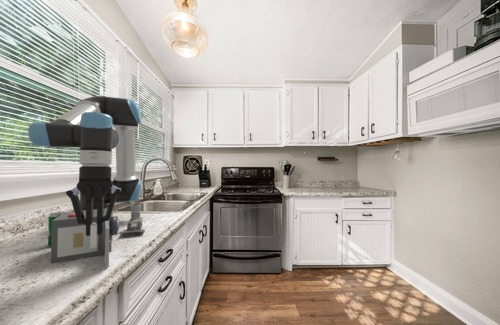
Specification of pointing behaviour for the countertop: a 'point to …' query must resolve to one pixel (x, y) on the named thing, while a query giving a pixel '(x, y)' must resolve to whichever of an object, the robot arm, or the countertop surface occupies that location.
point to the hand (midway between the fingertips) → (94, 245)
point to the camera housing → (76, 237)
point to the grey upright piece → (134, 220)
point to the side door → (106, 242)
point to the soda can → (50, 218)
